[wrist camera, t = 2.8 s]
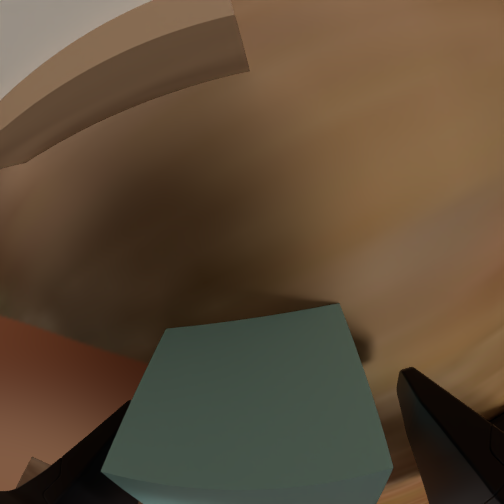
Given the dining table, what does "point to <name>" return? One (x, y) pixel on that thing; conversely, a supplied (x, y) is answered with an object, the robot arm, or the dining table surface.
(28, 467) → the bracket cradle
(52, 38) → the cream block
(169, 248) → the dining table surface
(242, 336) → the teal cube
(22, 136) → the walnut block
